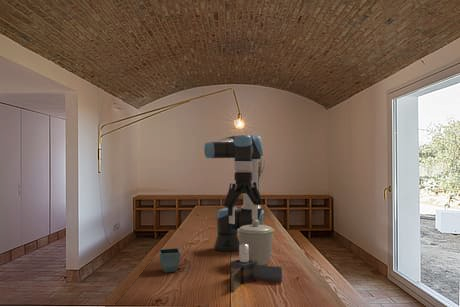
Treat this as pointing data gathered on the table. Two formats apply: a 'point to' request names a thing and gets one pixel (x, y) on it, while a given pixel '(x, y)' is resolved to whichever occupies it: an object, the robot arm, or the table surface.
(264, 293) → the table surface
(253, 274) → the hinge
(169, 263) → the flower pot
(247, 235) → the canister
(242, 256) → the hinge pin
